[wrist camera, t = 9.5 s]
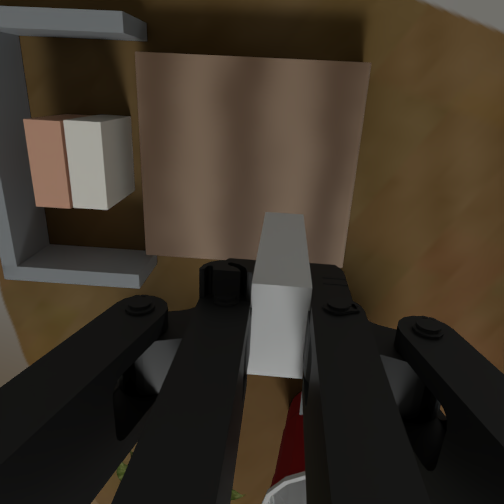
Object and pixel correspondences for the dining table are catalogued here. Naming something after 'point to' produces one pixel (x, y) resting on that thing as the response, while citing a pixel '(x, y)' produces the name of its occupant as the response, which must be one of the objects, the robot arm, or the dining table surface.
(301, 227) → the robot arm
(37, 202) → the terracotta tile
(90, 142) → the cream tile
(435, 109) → the dining table surface
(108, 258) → the box
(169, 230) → the walnut plate
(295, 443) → the plastic cup
